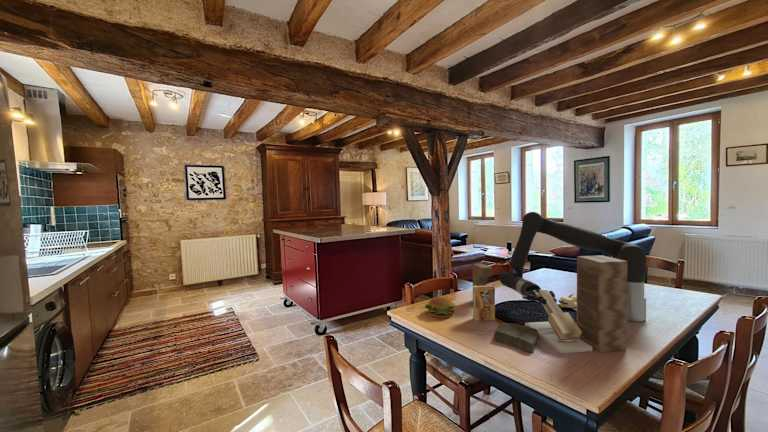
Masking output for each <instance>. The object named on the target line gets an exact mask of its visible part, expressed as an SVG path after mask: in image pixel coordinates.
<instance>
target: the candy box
mask: <svg viewBox="0 0 768 432" xmlns="http://www.w3.org/2000/svg"><path fill="white" fill-rule="evenodd" d="M495 293H496V287H495V286H494V285H490V284H489V285H488V284H487V285H482V286H473V285H472V309H473V312H472V313H473V314H472V316H473V317H472V318H473V319H474V321H475V322H484V321H487V322H488V321H496V301H495V300H496V297H495V296H496V295H495Z"/></svg>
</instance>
